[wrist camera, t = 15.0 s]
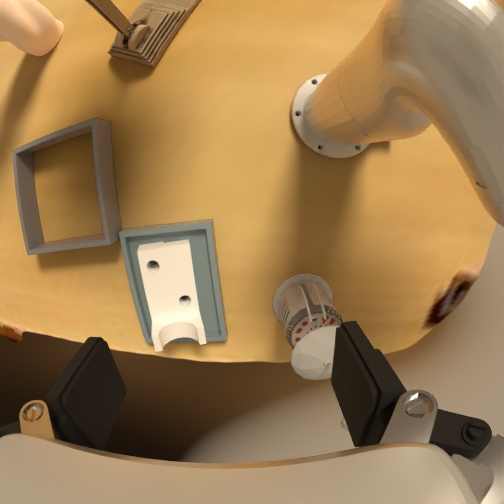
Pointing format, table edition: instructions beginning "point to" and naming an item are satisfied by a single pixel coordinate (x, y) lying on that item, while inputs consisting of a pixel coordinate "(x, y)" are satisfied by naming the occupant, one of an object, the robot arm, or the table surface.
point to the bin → (103, 182)
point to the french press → (308, 324)
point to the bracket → (170, 292)
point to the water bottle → (29, 26)
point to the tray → (203, 269)
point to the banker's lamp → (145, 27)
